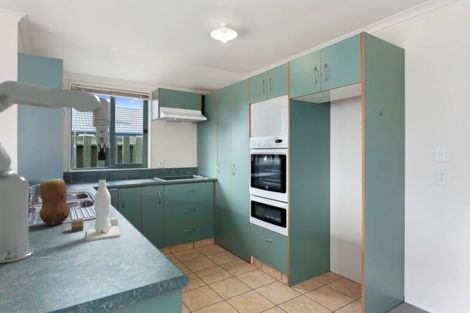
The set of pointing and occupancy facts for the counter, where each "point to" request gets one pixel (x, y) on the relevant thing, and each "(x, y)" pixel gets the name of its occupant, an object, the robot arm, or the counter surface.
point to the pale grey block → (113, 221)
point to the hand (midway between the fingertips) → (101, 160)
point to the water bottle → (102, 208)
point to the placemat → (102, 234)
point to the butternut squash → (53, 201)
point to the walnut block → (77, 225)
